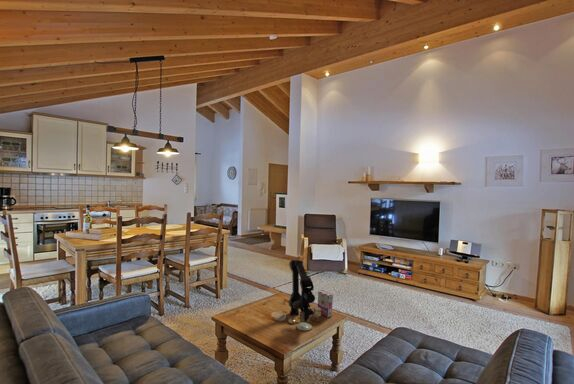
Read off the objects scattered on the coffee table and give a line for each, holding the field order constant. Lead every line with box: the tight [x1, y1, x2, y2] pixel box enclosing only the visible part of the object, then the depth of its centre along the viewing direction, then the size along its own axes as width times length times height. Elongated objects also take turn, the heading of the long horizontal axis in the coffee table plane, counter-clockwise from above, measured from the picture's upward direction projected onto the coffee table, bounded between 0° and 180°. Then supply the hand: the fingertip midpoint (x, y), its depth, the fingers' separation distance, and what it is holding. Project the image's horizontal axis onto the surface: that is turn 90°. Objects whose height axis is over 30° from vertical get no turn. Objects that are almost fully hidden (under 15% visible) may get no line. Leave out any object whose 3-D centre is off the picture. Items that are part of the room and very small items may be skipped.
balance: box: [288, 314, 322, 325], centre depth 211 cm, size 24×6×5 cm, turn 104°
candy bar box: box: [317, 289, 334, 318], centre depth 224 cm, size 11×5×16 cm, turn 37°
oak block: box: [313, 306, 322, 316], centre depth 213 cm, size 4×4×4 cm
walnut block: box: [299, 311, 310, 323], centre depth 202 cm, size 5×5×5 cm
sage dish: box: [296, 322, 312, 332], centre depth 202 cm, size 10×10×1 cm
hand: (304, 319), depth 202 cm, fingers closed on walnut block, 5 cm apart
